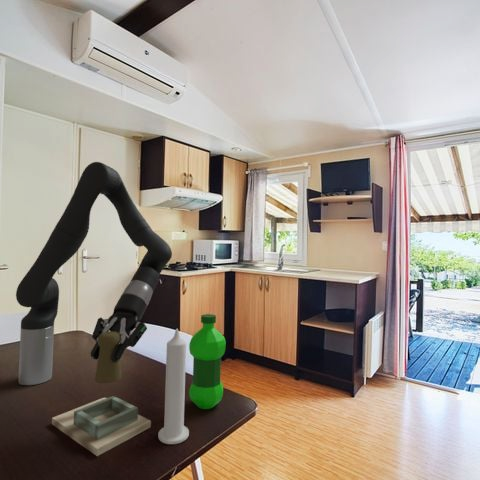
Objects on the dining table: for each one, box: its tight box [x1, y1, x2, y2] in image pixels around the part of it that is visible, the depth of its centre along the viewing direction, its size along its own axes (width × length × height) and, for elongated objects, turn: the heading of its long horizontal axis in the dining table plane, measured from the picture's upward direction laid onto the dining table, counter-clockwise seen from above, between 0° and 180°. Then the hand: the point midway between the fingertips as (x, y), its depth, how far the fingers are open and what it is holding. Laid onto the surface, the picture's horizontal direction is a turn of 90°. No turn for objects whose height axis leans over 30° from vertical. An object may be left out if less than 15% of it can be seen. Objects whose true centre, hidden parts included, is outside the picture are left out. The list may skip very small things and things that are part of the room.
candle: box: [157, 328, 190, 445], centre depth 76 cm, size 7×7×25 cm
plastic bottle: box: [188, 313, 227, 410], centre depth 91 cm, size 10×10×25 cm
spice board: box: [51, 395, 152, 457], centre depth 79 cm, size 20×14×4 cm
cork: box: [94, 330, 123, 384], centre depth 78 cm, size 6×6×11 cm
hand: (103, 359), depth 77 cm, fingers closed on cork, 5 cm apart
